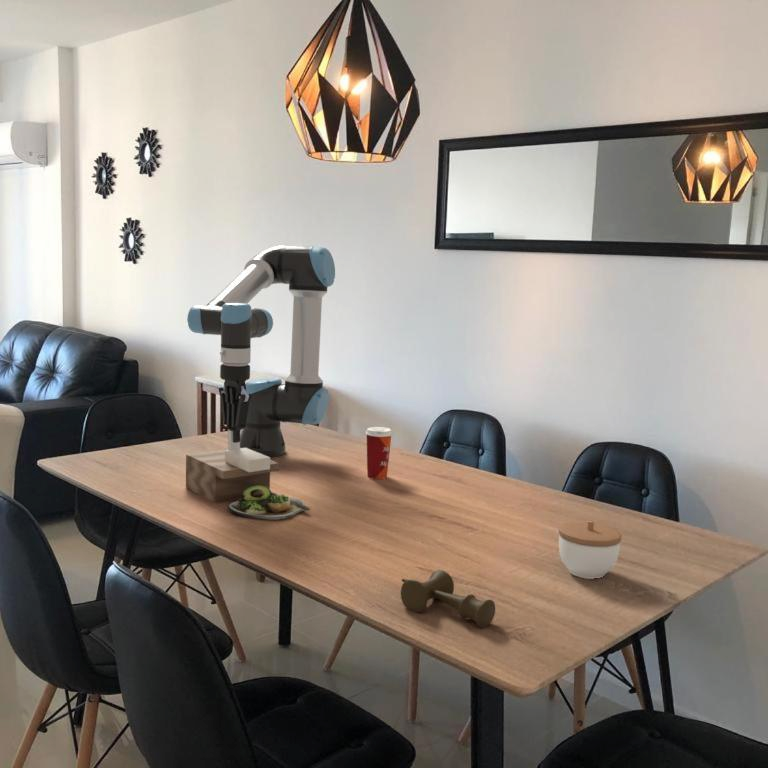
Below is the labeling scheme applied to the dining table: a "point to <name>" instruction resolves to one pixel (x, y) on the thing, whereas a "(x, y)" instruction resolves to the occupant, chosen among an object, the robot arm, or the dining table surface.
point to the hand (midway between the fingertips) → (233, 453)
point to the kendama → (446, 598)
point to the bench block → (222, 476)
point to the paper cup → (378, 451)
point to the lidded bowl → (588, 548)
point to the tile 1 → (232, 455)
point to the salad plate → (266, 504)
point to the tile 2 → (253, 462)
